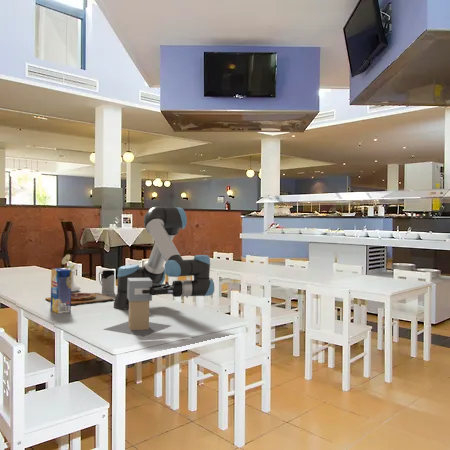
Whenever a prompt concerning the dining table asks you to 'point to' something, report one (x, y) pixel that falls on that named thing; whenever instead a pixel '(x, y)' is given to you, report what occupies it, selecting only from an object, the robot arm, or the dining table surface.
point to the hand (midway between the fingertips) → (133, 289)
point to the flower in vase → (73, 285)
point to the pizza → (87, 298)
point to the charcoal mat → (125, 329)
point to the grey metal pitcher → (107, 282)
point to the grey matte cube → (138, 283)
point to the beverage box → (61, 290)
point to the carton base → (138, 315)
